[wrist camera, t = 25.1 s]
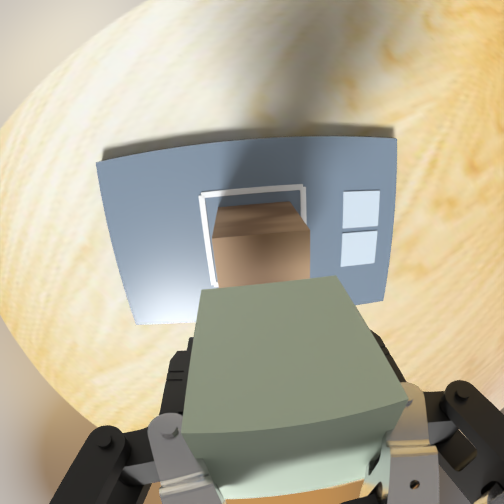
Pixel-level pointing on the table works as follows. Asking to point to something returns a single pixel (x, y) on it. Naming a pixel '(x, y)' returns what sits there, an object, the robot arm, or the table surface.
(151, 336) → the table surface
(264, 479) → the sage block
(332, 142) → the board
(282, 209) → the walnut block
